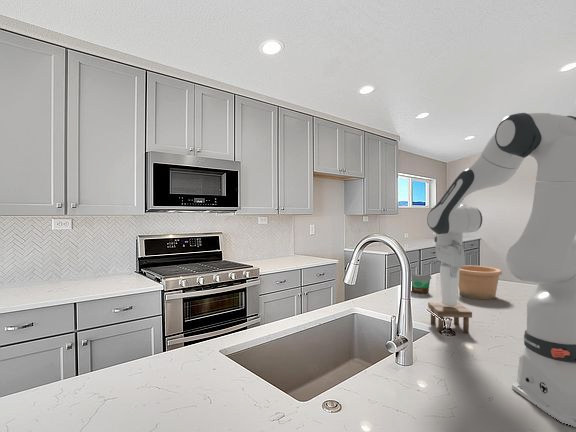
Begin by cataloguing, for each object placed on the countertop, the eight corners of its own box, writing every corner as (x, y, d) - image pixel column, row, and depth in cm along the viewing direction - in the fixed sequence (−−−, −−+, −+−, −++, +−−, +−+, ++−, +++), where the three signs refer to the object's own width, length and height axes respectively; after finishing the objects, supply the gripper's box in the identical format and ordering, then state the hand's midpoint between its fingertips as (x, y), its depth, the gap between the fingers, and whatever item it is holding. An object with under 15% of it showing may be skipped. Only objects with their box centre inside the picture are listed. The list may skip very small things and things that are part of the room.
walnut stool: (471, 333, 123) (472, 312, 123) (438, 332, 125) (438, 311, 125) (458, 322, 135) (458, 303, 135) (428, 321, 137) (428, 302, 136)
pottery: (447, 295, 179) (447, 268, 179) (463, 288, 194) (463, 263, 193) (493, 303, 163) (493, 274, 163) (506, 295, 178) (506, 268, 177)
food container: (408, 293, 182) (408, 275, 182) (407, 290, 188) (407, 273, 188) (432, 295, 179) (432, 276, 178) (431, 292, 184) (431, 274, 184)
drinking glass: (461, 307, 125) (461, 267, 125) (442, 306, 127) (442, 266, 127) (456, 302, 132) (456, 264, 132) (438, 302, 133) (438, 264, 133)
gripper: (469, 242, 119) (469, 281, 119) (448, 237, 139) (448, 270, 139) (451, 242, 119) (451, 280, 119) (432, 237, 140) (432, 270, 140)
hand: (449, 275), depth 129 cm, fingers closed on drinking glass, 6 cm apart
